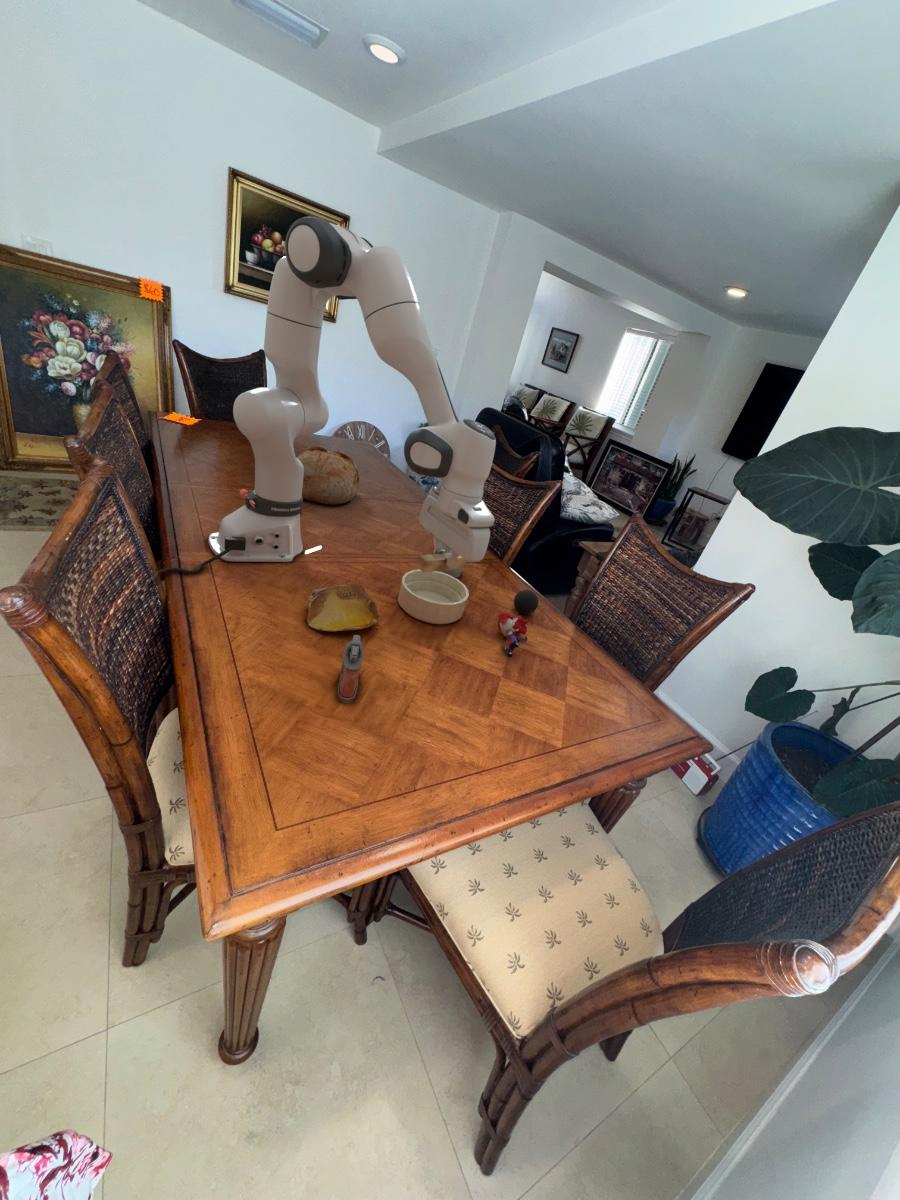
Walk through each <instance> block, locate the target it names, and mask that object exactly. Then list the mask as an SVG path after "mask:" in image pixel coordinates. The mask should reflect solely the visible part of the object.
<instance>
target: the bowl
mask: <svg viewBox="0 0 900 1200" xmlns="http://www.w3.org/2000/svg"><path fill="white" fill-rule="evenodd" d="M469 597H470V595H469V589H468V588H467V586H466V585H465V584H464V583H463V582H462V581H461V580H459V579H458V578H454V577H452V576H450V575H448V574H445V573H442V572H441V571H431V572H422V571H421V570H420V569H419V568H418V569H413V570H410V571H407V572H406V573H405V574H403V576H402V577H401V582H400V586H399V591H398V595H397V603H398V604H399V606H400V608H401V609H403V611H404V612H405V613H406V614H407V615H409V616H411V617H412V618H414V619H416V620H419V621H420V622H425V623H427V624H432V625H447V624H451V623H454V622H456V621H459V620H460V619H461V618H462V617H463V615H464V613H465V610H466V607H467V603H468V600H469Z"/></svg>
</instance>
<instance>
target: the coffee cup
mask: <svg viewBox="0 0 900 1200" xmlns="http://www.w3.org/2000/svg"><path fill="white" fill-rule="evenodd" d="M450 549H451V548H450V547H448V546H447V545H446V544H445V543H443V550H444V553H450ZM463 569H464V568H460V569H450V570H441V571H440V572H442V573H445V574H448V575H450V576H452V577H454V578H456V579H458V578H459V577H460V576H461V574H462V571H463Z"/></svg>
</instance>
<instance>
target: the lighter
mask: <svg viewBox="0 0 900 1200" xmlns="http://www.w3.org/2000/svg"><path fill="white" fill-rule="evenodd" d="M364 650H365V649H364V646H363V643H362V641H361V635H359V634H353V636H352V639H351V640H350V641H348V642H347V644H346V645H345V648H344V652H343V656H342V663H341V668H340V677H339V681H338V685H337V697H338V700H339V701H341V702H342V703H345V704H347V703H348V704H349V703H352V702H353V701H354V700H355V697H356V695H357V691H358V686H359V675H360V671H361V667H362V664H363V660H364V654H365V653H364Z"/></svg>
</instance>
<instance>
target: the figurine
mask: <svg viewBox="0 0 900 1200" xmlns="http://www.w3.org/2000/svg"><path fill="white" fill-rule="evenodd" d="M528 623H530V621H529V620H525V619H524V618H523V617H522V615H520V614H519V616H517V617H516V616H515V615H514V614H512V613H507V612H500V613H499V614H498V620H497V627H498V629H499V630H500V632H501V633H502V635H503V636H504V637H505V639H506V642H505V647H504V650H506V649H507V656H508V657H509V658H512V657H513V651H514V650H515V649H516V648H519V647H520V645H519V643H518V642H519V641H520V642H521V643H524V644H526V643H528V640H529V639H528V636H527V632H528V626H527V624H528ZM520 635H525V637H524V638H522V637H520Z"/></svg>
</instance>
